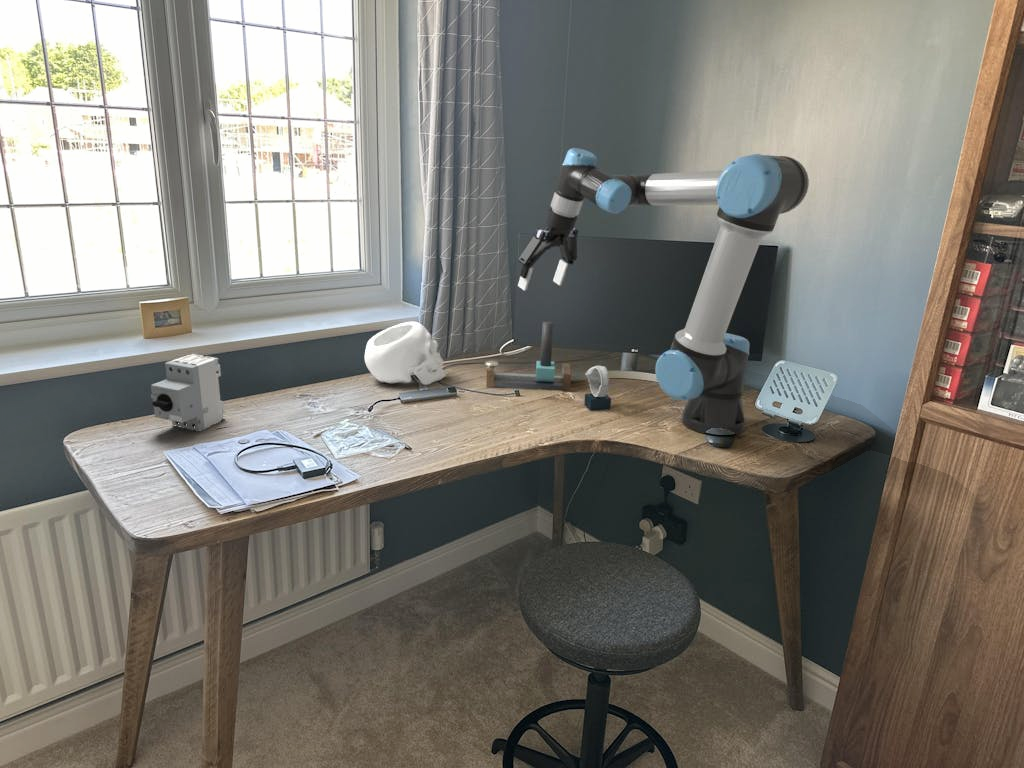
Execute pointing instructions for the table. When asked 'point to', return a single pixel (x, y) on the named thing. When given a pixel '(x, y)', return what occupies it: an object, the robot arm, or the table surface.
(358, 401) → the table surface
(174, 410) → the circuit breaker
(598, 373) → the watch
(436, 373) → the skull planter
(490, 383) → the rail
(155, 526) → the table surface
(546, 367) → the dark rod stand
